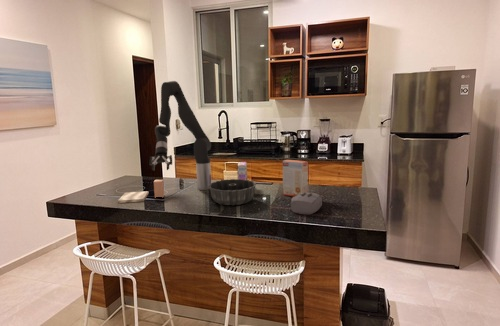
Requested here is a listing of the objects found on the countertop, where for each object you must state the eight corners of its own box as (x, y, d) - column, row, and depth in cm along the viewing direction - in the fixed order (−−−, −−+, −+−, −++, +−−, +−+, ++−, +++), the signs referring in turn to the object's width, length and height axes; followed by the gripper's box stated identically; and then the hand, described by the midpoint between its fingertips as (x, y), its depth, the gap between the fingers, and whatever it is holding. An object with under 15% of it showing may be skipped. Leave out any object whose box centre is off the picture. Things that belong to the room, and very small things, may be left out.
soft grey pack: (316, 216, 151) (326, 205, 169) (316, 199, 150) (326, 189, 167) (286, 212, 158) (299, 201, 176) (286, 196, 157) (299, 187, 174)
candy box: (246, 190, 202) (246, 165, 199) (237, 190, 202) (236, 165, 200) (247, 185, 216) (246, 161, 213) (238, 185, 216) (238, 161, 213)
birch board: (148, 193, 201) (148, 191, 201) (143, 201, 183) (143, 198, 183) (125, 194, 199) (125, 192, 199) (118, 203, 181) (117, 200, 181)
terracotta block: (164, 195, 196) (163, 179, 194) (163, 197, 191) (162, 181, 189) (156, 195, 195) (154, 179, 194) (154, 197, 190) (153, 181, 189)
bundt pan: (246, 210, 163) (246, 191, 161) (201, 206, 172) (200, 188, 170) (262, 196, 187) (262, 180, 186) (221, 193, 196) (221, 178, 195)
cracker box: (308, 196, 185) (308, 161, 181) (302, 198, 181) (302, 162, 177) (288, 192, 194) (288, 159, 191) (282, 194, 190) (282, 160, 187)
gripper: (149, 146, 207) (147, 166, 198) (171, 145, 209) (171, 165, 200) (151, 153, 213) (149, 173, 204) (173, 152, 215) (172, 172, 206)
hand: (160, 169), depth 202 cm, fingers open, 8 cm apart
